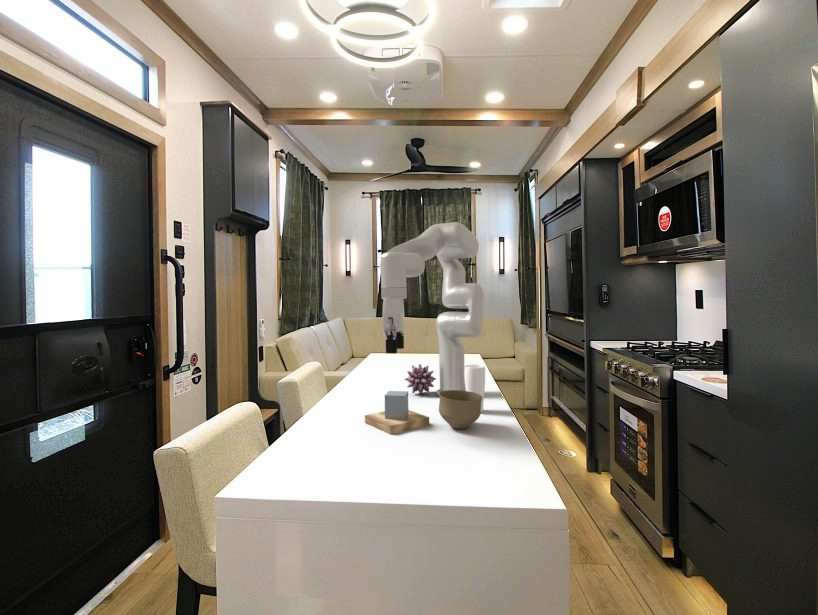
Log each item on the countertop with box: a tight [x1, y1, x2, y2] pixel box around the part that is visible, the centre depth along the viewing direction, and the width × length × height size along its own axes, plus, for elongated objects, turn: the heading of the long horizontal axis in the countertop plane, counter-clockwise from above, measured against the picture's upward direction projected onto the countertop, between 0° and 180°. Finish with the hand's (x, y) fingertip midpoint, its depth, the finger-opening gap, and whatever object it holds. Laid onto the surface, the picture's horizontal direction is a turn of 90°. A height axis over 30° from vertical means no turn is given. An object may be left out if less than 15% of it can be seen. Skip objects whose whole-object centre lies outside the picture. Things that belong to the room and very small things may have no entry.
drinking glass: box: [464, 364, 486, 413], centre depth 151 cm, size 7×7×15 cm
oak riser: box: [364, 409, 430, 435], centre depth 139 cm, size 14×14×3 cm
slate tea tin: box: [384, 390, 409, 419], centre depth 139 cm, size 6×6×7 cm
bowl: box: [438, 390, 482, 430], centre depth 134 cm, size 13×13×10 cm
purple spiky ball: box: [404, 363, 437, 395], centre depth 176 cm, size 12×12×12 cm
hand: (395, 350), depth 138 cm, fingers open, 9 cm apart
